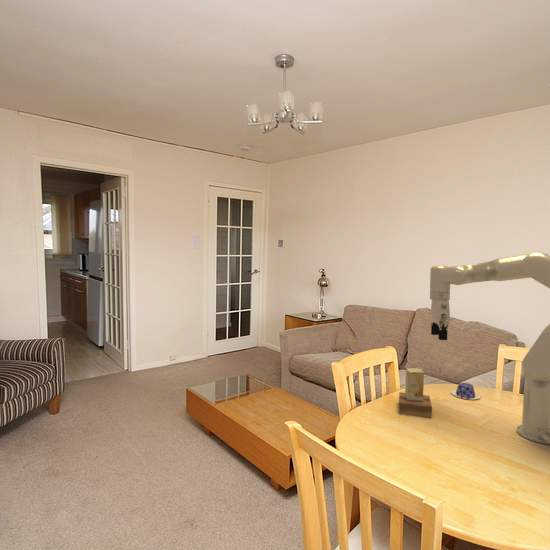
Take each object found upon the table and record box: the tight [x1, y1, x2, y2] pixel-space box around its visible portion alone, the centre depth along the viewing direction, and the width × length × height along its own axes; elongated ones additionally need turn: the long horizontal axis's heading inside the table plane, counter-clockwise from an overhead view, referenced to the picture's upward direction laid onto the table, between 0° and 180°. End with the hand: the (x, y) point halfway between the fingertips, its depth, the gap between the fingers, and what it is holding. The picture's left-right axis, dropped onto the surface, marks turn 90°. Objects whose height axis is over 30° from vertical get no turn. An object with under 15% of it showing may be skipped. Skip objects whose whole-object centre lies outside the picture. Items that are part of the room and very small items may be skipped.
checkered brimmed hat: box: [450, 382, 481, 400], centre depth 171 cm, size 12×12×5 cm
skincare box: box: [404, 367, 425, 401], centre depth 153 cm, size 6×4×12 cm
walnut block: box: [398, 391, 433, 419], centre depth 154 cm, size 12×12×5 cm
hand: (438, 337), depth 154 cm, fingers open, 9 cm apart
